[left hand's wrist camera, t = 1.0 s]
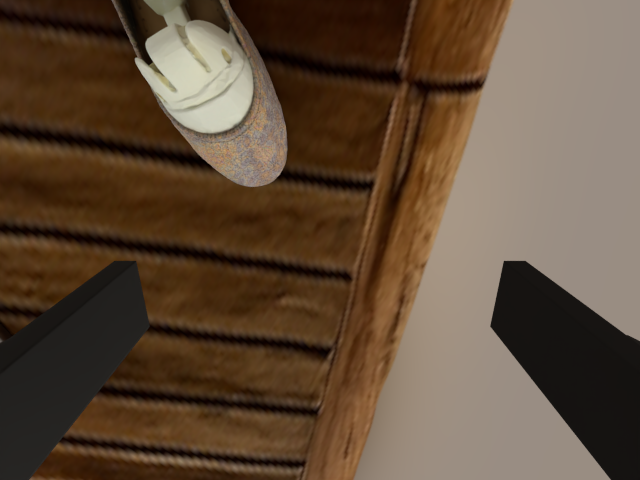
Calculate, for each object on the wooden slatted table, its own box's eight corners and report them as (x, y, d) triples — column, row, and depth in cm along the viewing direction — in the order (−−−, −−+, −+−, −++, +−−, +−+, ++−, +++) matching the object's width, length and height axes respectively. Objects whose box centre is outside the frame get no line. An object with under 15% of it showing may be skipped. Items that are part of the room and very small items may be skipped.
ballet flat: (225, 201, 30) (192, 233, 22) (31, -143, 22) (-127, -281, 14) (313, 160, 28) (311, 179, 21) (141, -220, 21) (34, -417, 13)
